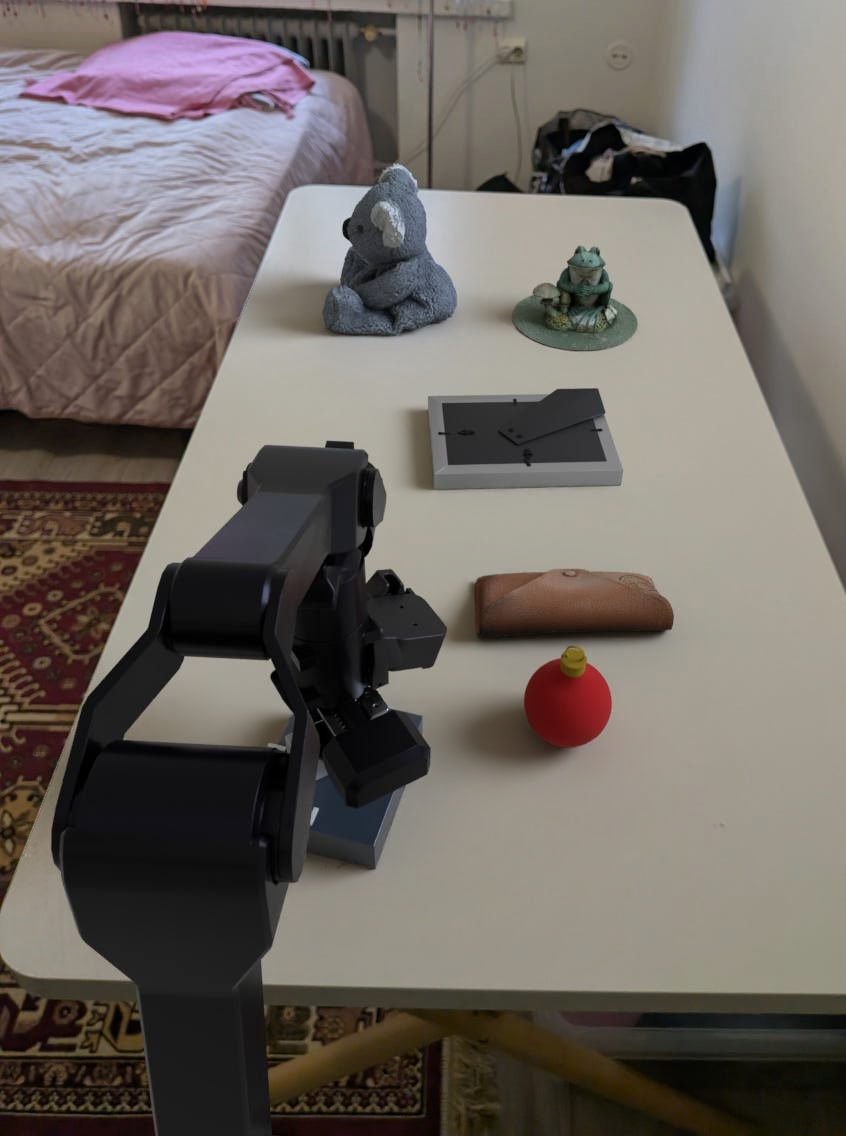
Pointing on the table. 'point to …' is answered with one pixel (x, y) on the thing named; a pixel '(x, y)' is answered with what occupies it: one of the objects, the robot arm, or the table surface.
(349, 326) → the koala plush
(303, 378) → the table surface
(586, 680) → the christmas ornament
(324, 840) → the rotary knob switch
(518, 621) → the sunglasses case
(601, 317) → the frog figurine
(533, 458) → the picture frame
